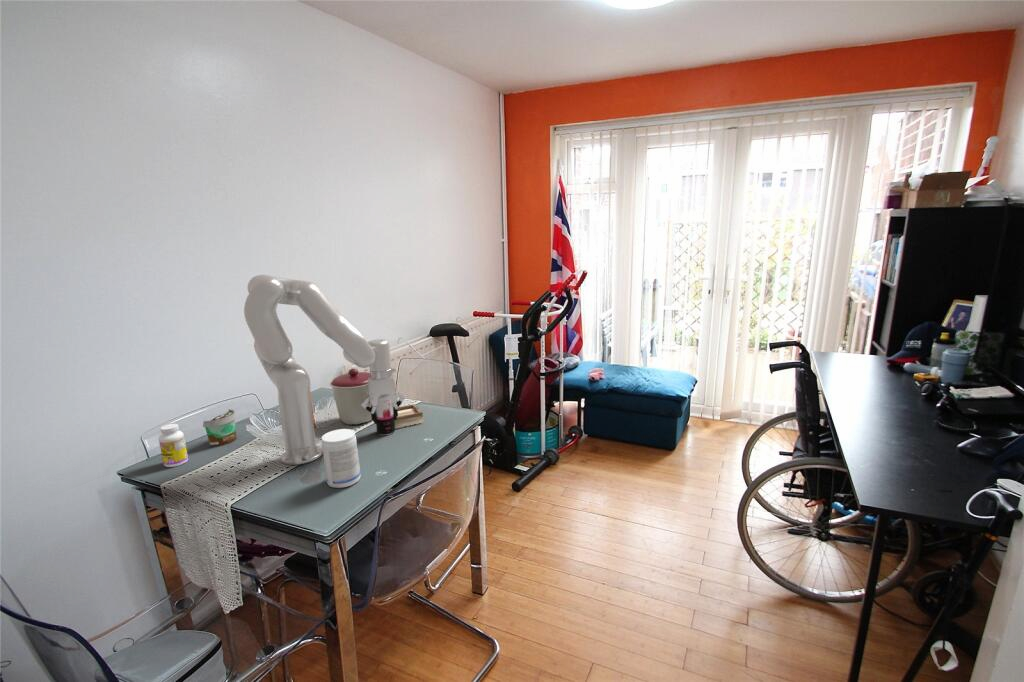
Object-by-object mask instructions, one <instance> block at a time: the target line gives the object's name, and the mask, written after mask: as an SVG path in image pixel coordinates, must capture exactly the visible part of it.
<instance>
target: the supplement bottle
mask: <svg viewBox="0 0 1024 682" xmlns="http://www.w3.org/2000/svg"><path fill="white" fill-rule="evenodd" d="M160 433H161V435H159V436H158V442H159V446H160V447H159V449H160V452H161V457H162V463H163V466H164V467H167V468H175V467H178V466H181V465H184V464H186V463H187V462H188V460H189V454H188V450H187V444H186V439H185V434H184V432H183V431H181V430H180V427H179V424H178V423H169V424H165V425H163V426H161V427H160Z"/></svg>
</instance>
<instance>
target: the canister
mask: <svg viewBox="0 0 1024 682" xmlns="http://www.w3.org/2000/svg"><path fill="white" fill-rule="evenodd" d="M368 378H370V372H367V371H364V372H363V371H359V370H358V369H357V368H350V369H349V370H348V373H344V374H341V375H338V376H336V377H334V378H333V379H331V380H330V382H329V385H330V386H329V387H331V388H332V393H333V397H334V401H335V405H336V410H337V414H338V417H339V419H340V418H341V419H340V421H341V420H342V421H343V423H344V424H345V425H346V424H347V425H352V424H353V425H354V424H355V425H360V424H361V423H362V424H365V422H366V423H369V422H371V421H372V417H371V412H369V411H368V410H366V409H365V408H364V407H362V406H361V403H362V402H363V401H364V400H365V398H366V397H367V396H368ZM366 405H367V406H369V407H371V405H370V403H369V402H368V403H367V404H366ZM362 424H361V425H362Z"/></svg>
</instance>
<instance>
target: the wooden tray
mask: <svg viewBox="0 0 1024 682" xmlns="http://www.w3.org/2000/svg"><path fill="white" fill-rule="evenodd" d="M397 410H398V416H397V420H395V419H394V421H395V430H396V429H400V428H401V429H402V428H405V426H406V427H410V425H411V426H415V425H414V424H416V425H420V424H419V423H421V424H424V417H423V416H424V415H423V412H422V411H421V409H420V408H419V407H418V406H417V405H416V404H415V403H413V404H409V405H403V406H399V407H398V409H397Z"/></svg>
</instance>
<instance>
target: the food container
mask: <svg viewBox="0 0 1024 682" xmlns="http://www.w3.org/2000/svg"><path fill="white" fill-rule="evenodd" d="M237 418H238V415H237V413H236V411H235V410H233V409H229V408H228V412H225V413H224V414H220V415H217V416H215V417H214V418H212V419H211V420H203V423H202V426H203V428H205V431H206V435H207V436H206V437H207V439H208V443H209V446H210V447H211V446H216V447H221V445H222V446H226V445H229V444H231V443H233V442H235V441H236V440H237V431H236V430H237V429H236V427H237V426H236V425H237V424H236V419H237ZM225 444H226V445H225Z"/></svg>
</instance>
